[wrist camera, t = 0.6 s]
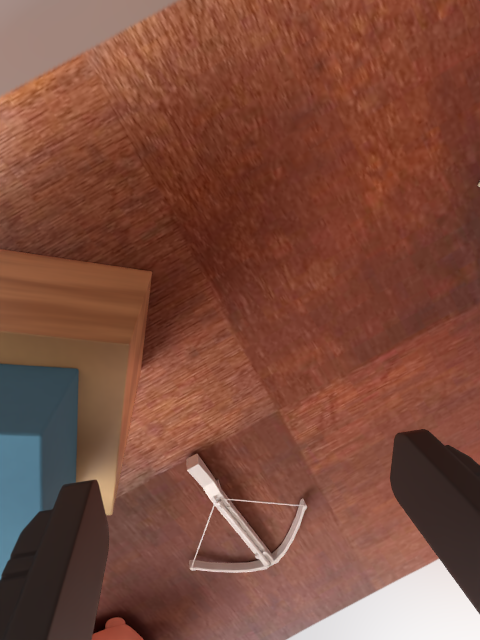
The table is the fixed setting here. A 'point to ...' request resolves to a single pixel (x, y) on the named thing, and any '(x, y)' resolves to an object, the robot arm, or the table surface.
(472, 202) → the table surface
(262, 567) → the crossbow
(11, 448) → the blue rectangular block
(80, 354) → the tan wooden block
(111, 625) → the teapot
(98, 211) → the table surface
